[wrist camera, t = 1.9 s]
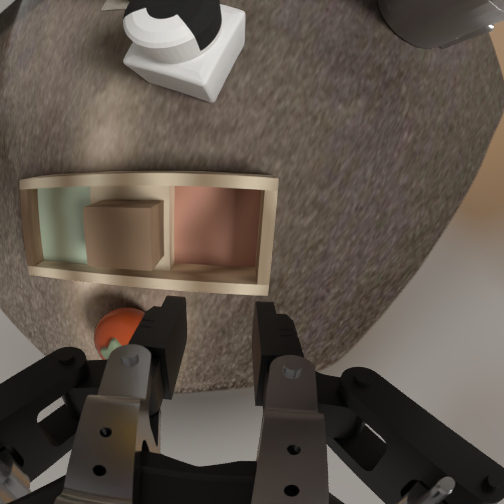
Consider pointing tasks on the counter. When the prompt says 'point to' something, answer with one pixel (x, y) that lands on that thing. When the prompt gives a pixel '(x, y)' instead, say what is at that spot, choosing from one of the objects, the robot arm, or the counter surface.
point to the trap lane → (175, 228)
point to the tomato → (116, 329)
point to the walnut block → (124, 233)
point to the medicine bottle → (184, 43)
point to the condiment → (115, 4)
